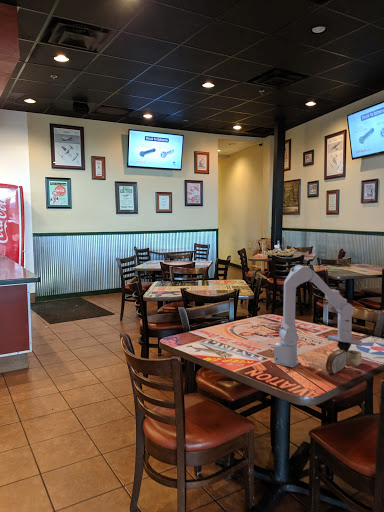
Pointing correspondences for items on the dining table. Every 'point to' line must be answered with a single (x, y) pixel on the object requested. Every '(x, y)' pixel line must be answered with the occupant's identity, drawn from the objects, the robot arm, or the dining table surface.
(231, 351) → the dining table surface
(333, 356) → the tin
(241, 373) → the dining table surface
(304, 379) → the dining table surface
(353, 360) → the letter cube
